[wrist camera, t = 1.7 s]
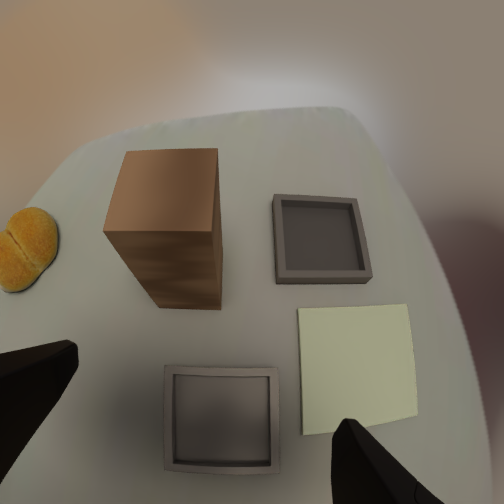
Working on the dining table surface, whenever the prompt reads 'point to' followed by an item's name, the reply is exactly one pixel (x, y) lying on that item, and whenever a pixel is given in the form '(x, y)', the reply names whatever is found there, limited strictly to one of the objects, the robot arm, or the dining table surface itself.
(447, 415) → the dining table surface
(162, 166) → the walnut block
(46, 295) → the dining table surface
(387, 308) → the pad
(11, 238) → the bread roll
